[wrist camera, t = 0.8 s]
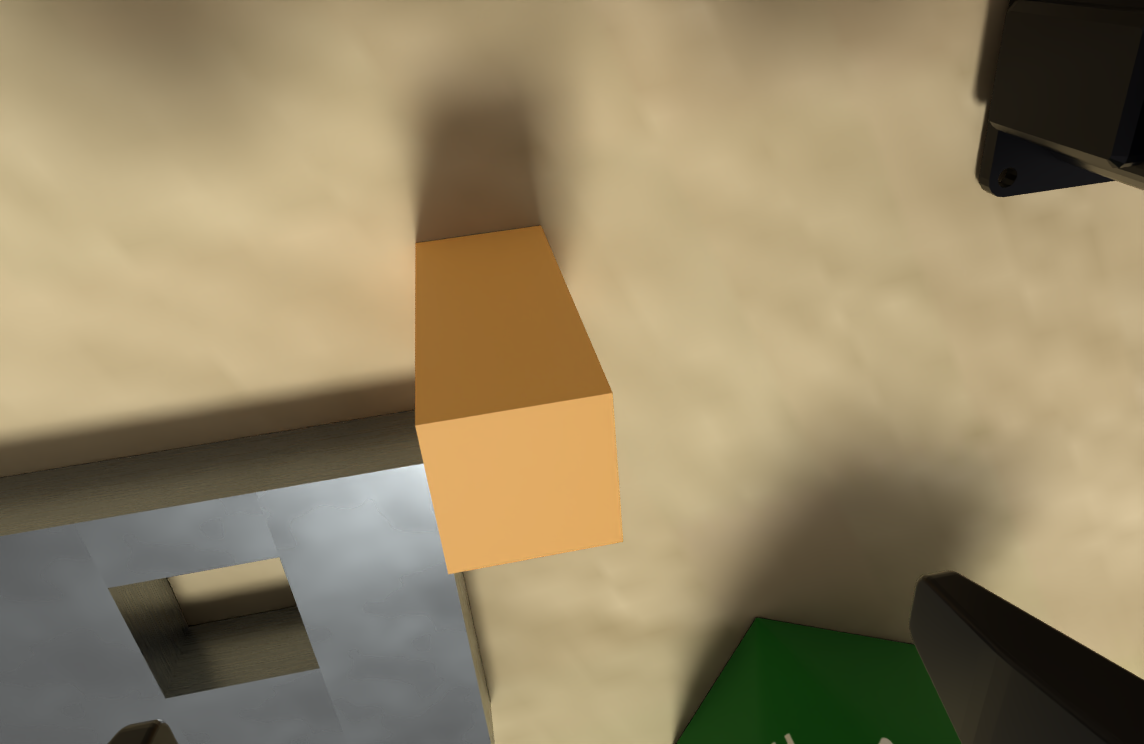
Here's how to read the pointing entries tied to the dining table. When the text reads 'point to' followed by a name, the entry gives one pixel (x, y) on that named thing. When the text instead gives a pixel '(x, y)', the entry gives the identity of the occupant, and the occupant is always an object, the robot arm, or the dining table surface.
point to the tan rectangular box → (510, 404)
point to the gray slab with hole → (250, 643)
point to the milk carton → (820, 692)
